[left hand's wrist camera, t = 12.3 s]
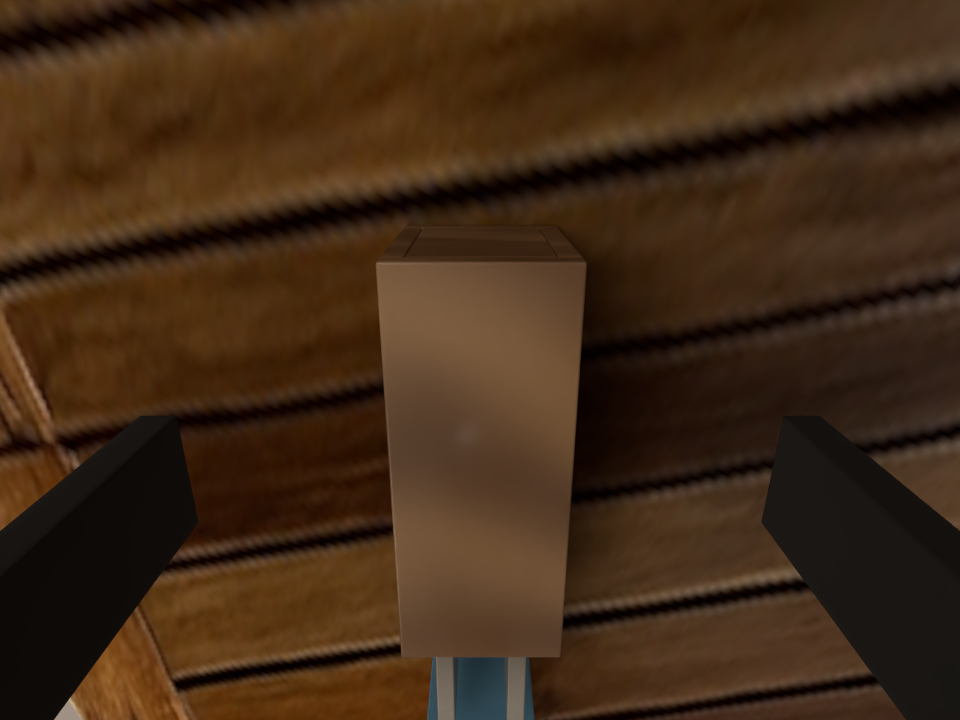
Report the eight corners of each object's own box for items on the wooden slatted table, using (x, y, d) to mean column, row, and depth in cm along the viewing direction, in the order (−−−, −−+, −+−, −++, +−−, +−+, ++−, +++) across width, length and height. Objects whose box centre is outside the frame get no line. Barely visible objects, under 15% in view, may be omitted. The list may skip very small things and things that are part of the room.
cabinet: (541, 535, 31) (560, 658, 24) (419, 535, 31) (401, 658, 24) (556, 225, 25) (587, 261, 18) (405, 225, 25) (374, 261, 18)
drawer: (524, 726, 35) (533, 840, 30) (436, 727, 35) (428, 840, 30) (537, 426, 28) (551, 501, 22) (424, 426, 28) (410, 501, 22)
